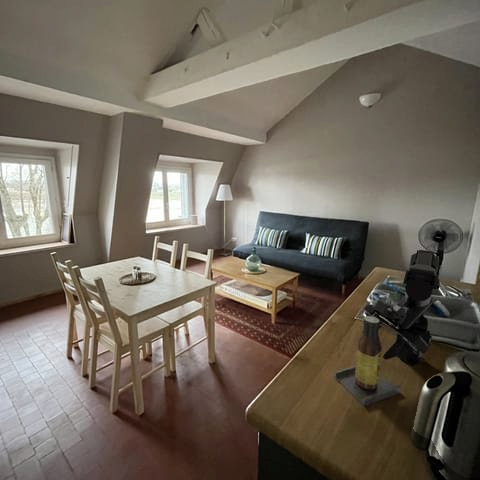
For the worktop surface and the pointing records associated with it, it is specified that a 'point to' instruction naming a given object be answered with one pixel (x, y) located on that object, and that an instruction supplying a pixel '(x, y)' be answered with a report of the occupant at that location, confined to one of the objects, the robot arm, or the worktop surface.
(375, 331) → the sauce bottle
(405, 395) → the worktop surface
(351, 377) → the floor track
